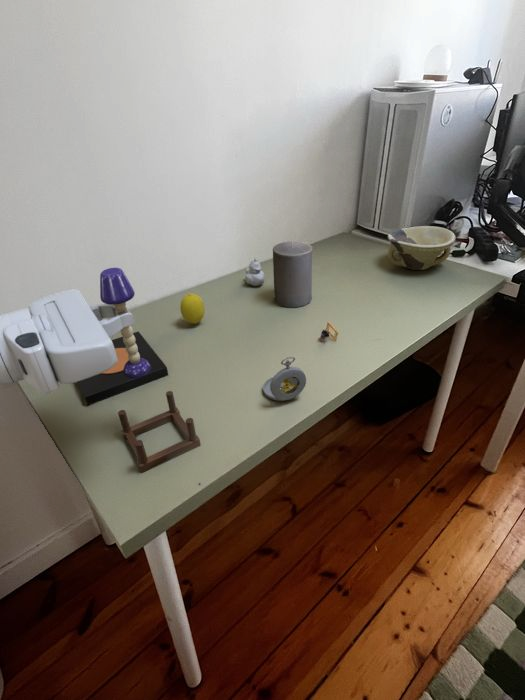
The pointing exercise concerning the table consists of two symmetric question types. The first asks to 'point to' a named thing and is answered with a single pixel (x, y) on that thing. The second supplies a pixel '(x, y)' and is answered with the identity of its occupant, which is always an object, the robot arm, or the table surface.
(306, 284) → the pillar candle
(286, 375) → the pocket watch
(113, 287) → the toy lamp
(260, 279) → the rubber duck
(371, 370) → the table surface
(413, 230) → the bowl
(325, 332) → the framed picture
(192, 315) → the lemon
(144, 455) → the rack
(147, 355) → the stove
